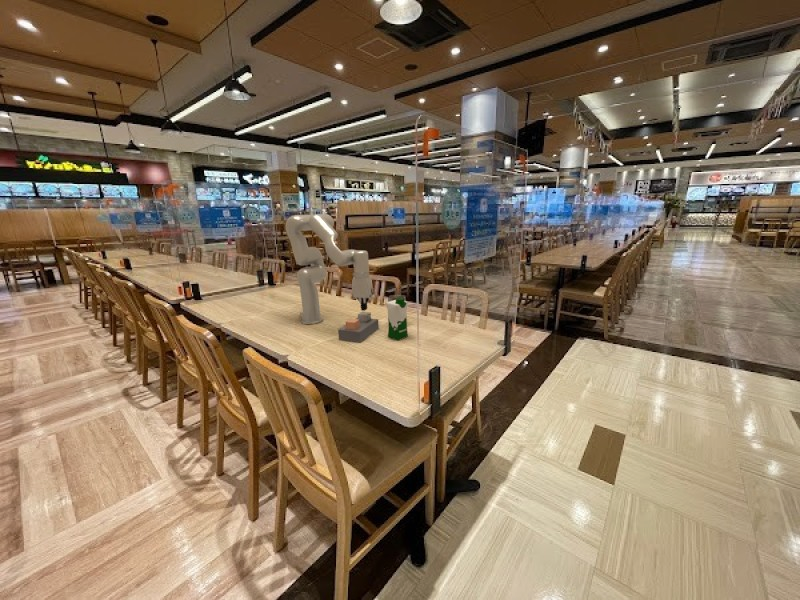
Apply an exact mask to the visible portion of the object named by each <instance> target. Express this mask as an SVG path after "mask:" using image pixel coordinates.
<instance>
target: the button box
mask: <svg viewBox="0 0 800 600" xmlns="http://www.w3.org/2000/svg"><path fill="white" fill-rule="evenodd" d="M355 319H358V317H357V318H355ZM379 325H380V324H379V319H378V318H371V320H370V321H369V322H367V323H364V322H360V328H358V329H357V330H355V331H354V330H346V324H345V325H343V326H341V327H340V328H338V329H337V330H338V331H337V332H338V341H343V340H345V341H344V342H350V341H352V343H357V342H358V343H359V344H361V343H362V342H365V340H366V339H368V338H369V337H371V336H372V335H373V334H375V332H377V331H378V330H379V329H380V328H379Z"/></svg>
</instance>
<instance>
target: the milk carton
mask: <svg viewBox="0 0 800 600" xmlns="http://www.w3.org/2000/svg"><path fill="white" fill-rule="evenodd" d="M408 302H409V301H404V298H396V300H393V301H390V302H388V301H386V302H385V305H386V309H387V319H388V321H387V322H388V328H387V329H388V330H387V331H388V332H387V338H391V339H393V340H396V341H400V339H401V340H402V338H403V339H405V338H407V337H408V324H407V323H408V320H407V319H408V317H407V316H408V315H407V314H408V313H407V309H408V305H409V304H408ZM406 336H407V337H406ZM404 337H405V338H404Z"/></svg>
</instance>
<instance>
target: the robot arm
mask: <svg viewBox="0 0 800 600" xmlns="http://www.w3.org/2000/svg"><path fill="white" fill-rule="evenodd" d="M334 226H335V222H334V218H333V216H331V215H330V214H327V213H315V214H295V215H291V216H290V217H288V219H286V222H285V233H286V234H287V237H288V239H289V241H290V245H291V250H292V254H293V256H294V260H295V263H296V264H297V265H299V266H306V267H303V268H301V269H299V270H298V271H297V273H296V279H297V281H298V282H297V283H298V286H299V290H300V297H301V298H300V300H301V305H302V307H301V309H302V312H300V313H299V315H298V317H299V318H301V320H300V322H301V324H303V325H317V324H320V323H322V322H323V321H324V317H323V316H321V308H320V300H319V299H320V298H319V297H320V296H319V291H318V288H317V286H316V285H315V283H318V282H322V281H324V280H325V279H326V277H327V272H326V271H327V270H326V266H325V263H324V259H323V254H322V252H321V250H319V249H320V248H318V247H315V246H309V245H308V240H307V239H306V237H305V235H304V234H303V233H302V231H303V232H306V231H307V232H308V231H313V232H314V234H316V235H317V236H318V238H320V240H321V241H322V242H323V243H324V250H325V253H326V255H327V257H328V258H329V259H330V260H331V261H332V262H333V263H334V264H336V265H337V266H339V267H345V266H346V267H347V266H350V265H353V271H354V272H352V276H353V278H352V284H351V285H352V288H351V289H352V290H351V291H352V293H351V294H352V296H353V299H355V300H357V301H358V302H359V304H360V310H361V312H366V310H367V309H368V302H369V301H371V300H373V299H374V286H373V281H372V278H371V277H370V266H369V265H370V264H369V253H368V251H367V250H359V249H357V250H356V249H352V248H351V249H346V250H341V249H340V248H339V247H338V246H337V245H336V243H335V241H336V240H337V238H338V235H339V234H338V232H337V231H336V230H335V228H334ZM308 265H310V266H308Z"/></svg>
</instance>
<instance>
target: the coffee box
mask: <svg viewBox="0 0 800 600" xmlns="http://www.w3.org/2000/svg"><path fill="white" fill-rule="evenodd" d="M396 298H404V301H406V295H405V294H395V295H393V294H391V295H389V296H388V298H387V299H388V301H387V302H390V301H393V300H396ZM406 302H407V301H406Z"/></svg>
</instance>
